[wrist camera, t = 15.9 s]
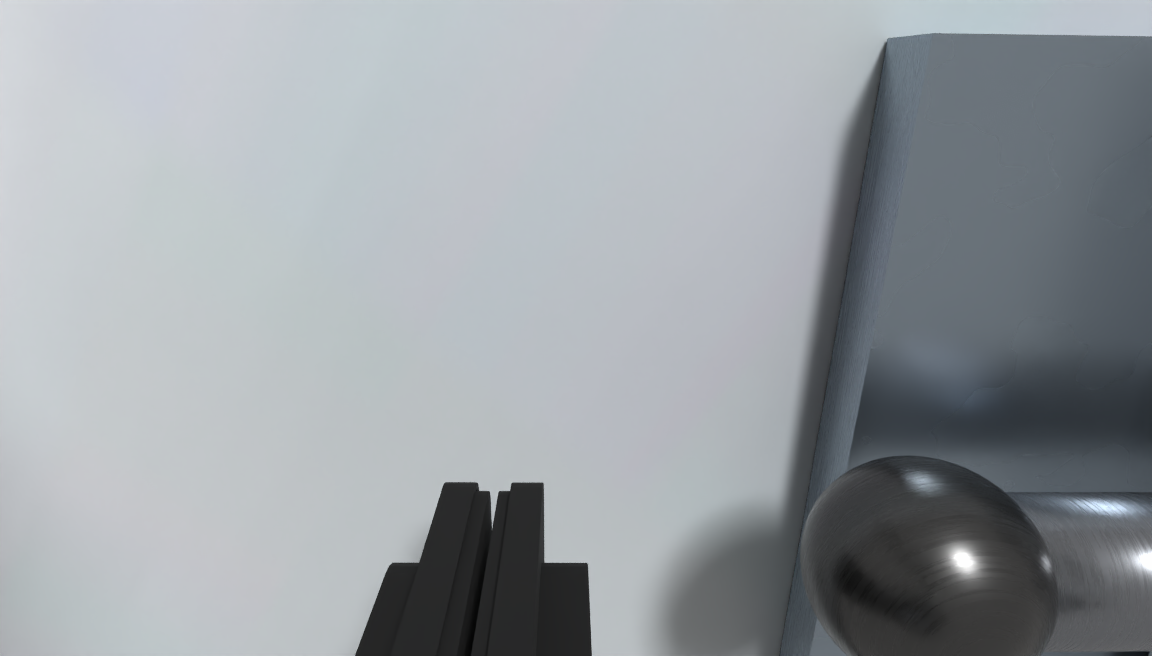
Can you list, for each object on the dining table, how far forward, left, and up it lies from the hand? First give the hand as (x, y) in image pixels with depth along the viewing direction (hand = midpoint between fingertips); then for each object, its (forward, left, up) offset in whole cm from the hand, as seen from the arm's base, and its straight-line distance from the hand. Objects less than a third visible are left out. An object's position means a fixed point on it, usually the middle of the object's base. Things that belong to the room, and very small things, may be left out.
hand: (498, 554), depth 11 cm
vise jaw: (+11, 0, -2) cm, 11 cm away
